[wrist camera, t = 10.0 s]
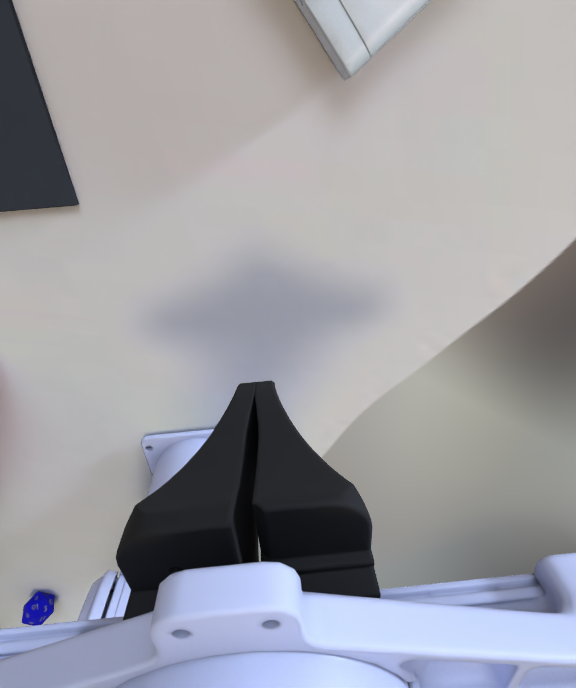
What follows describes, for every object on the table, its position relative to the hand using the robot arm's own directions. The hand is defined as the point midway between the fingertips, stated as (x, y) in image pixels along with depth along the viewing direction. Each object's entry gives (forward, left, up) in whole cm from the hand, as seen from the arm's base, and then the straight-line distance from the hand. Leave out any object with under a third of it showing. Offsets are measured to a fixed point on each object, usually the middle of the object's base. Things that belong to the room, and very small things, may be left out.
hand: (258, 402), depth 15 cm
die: (-30, +25, -11) cm, 41 cm away
